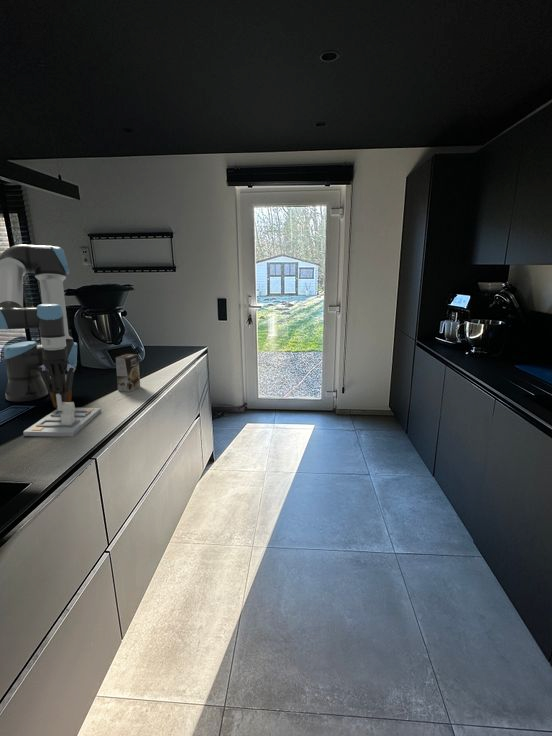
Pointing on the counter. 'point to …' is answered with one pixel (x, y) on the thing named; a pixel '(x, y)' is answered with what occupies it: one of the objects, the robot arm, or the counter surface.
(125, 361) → the coffee box
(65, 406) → the tab
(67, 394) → the disposable coffee cup
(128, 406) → the counter surface
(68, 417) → the tab
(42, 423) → the switch plate
